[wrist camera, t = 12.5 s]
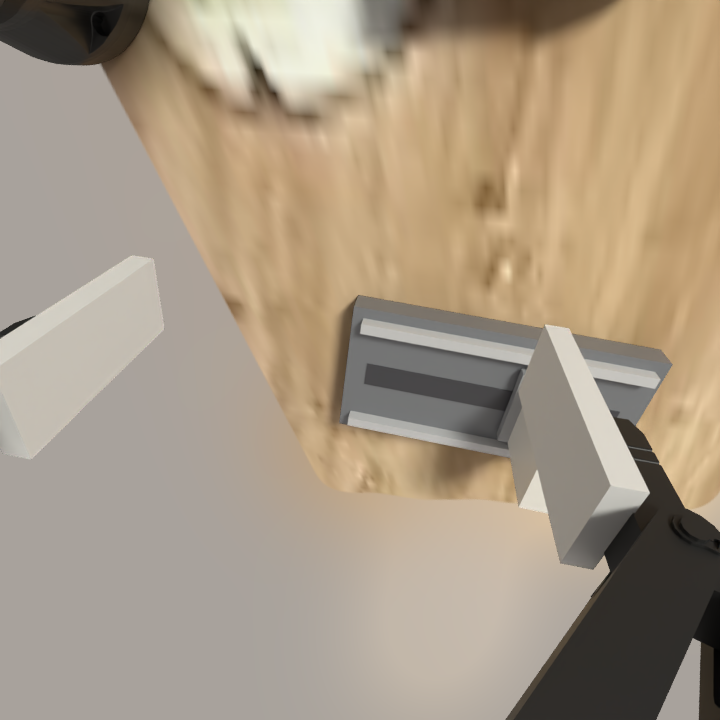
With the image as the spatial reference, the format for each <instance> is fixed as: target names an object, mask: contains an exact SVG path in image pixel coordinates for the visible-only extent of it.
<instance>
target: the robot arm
mask: <svg viewBox="0 0 720 720" xmlns="http://www.w3.org/2000/svg"><path fill="white" fill-rule="evenodd" d="M148 3H149V0H0V41H2V42H4V43H6V44H8V45H10V46H12V47H14V48H16V49H18V50H20V51H22V52H24V53H26V54H28V55H30V56H32V57H35V58H37V59H41V60H44V61H48V62H51V63H56V64H64V65H95V64H100V63H103V62H106V61H108V60H110V59H112V58H114V57H116V56H117V55H118V54H120V53H121V52H122V51H123V50H124V49H126V48H127V46H128V45H129V44H130V43H131V42H132V40H133V39H134V38H135V36H136V34H137V33H138V31H139V29H140V27H141V25H142V23H143V20H144V17H145V14H146V11H147V8H148ZM163 330H164V322H163V316H162V309H161V303H160V296H159V290H158V284H157V277H156V271H155V265H154V259H152V258H146V257H140V256H134V255H131V256H130V257H128V258H127V259H125V260H124V261H122V262H120V263H119V264H117V265H116V266H114V267H113V268H111V269H109V270H108V271H106V272H105V273H103V274H102V275H100V276H98V277H97V278H95V279H94V280H92V281H90V282H89V283H87V284H86V285H84V286H83V287H81V288H79V289H78V290H76V291H75V292H73V293H72V294H70V295H68V296H67V297H65V298H64V299H62V300H60V301H59V302H58V303H56V304H54V305H53V306H51V307H49V308H48V309H46V310H45V311H43V312H42V313H40V314H38V315H37V316H33V317H30V318H27V319H25V320H22V321H19V322H16V323H14V324H12V325H11V326H9V327H8V328H6V329H4V330H3V331H1V332H0V450H1V452H2V453H3V454H6V455H11V456H17V457H21V458H27V459H32V458H33V457H34V456H35V455H36V454H37V453H38V452H39V451H40V450H41V449H42V448H43V447H45V446H46V444H48V443H49V441H50V440H52V439H53V438H54V436H56V435H57V434H58V433H59V432H60V431H61V430H62V429H63V428H64V427H65V426H66V425H67V424H68V423H69V422H70V421H71V420H72V419H73V418H74V417H75V416H76V415H77V414H78V413H79V412H80V411H81V410H82V409H83V408H84V407H85V406H86V405H87V404H88V403H89V402H90V401H91V400H92V399H94V397H96V395H98V393H99V392H101V391H102V390H103V389H104V388H105V387H106V386H107V385H108V384H109V383H110V382H111V381H112V380H113V379H114V378H115V377H116V376H117V375H118V374H119V373H120V372H121V371H122V370H123V369H124V368H125V367H126V366H127V365H128V364H129V363H130V362H131V361H132V360H133V359H134V358H135V357H136V356H137V355H138V354H139V353H140V352H141V351H142V350H143V349H145V348H146V346H148V345H149V344H150V343H151V342H152V341H153V340H154V339H155V338H156V337H157V336H158V335H159V334H160V333H161V332H162V331H163ZM518 393H519V397H520V401H521V405H522V409H523V413H524V417H525V421H526V425H527V429H528V434H529V438H530V442H531V446H532V450H533V454H534V458H535V462H536V466H537V470H538V474H539V478H540V483H541V487H542V491H543V495H544V499H545V503H546V507H547V511H548V515H549V519H550V523H551V527H552V531H553V535H554V540H555V543H556V547H557V552H558V556H559V560H560V563H562V564H567V565H572V566H577V567H582V568H588V569H594V568H595V567H596V565H597V564H598V563H599V561H600V560H601V559H602V557H603V556H604V555H605V557H606V560H607V563H608V566H609V569H610V572H609V574H608V575H607V576H606V578H605V579H604V580H603V581H602V583H601V584H600V585H599V587H598V588H597V589H596V590H595V592H594V593H593V594H592V596H591V599H590V600H589V602H588V603H587V605H586V606H585V608H584V609H583V610H582V612H581V613H580V614H579V616H578V617H577V619H576V620H575V622H574V623H573V624H572V626H571V627H570V629H569V630H568V632H567V633H566V635H565V636H564V637H563V639H562V640H561V642H560V643H559V644H558V646H557V647H556V649H555V650H554V651H553V653H552V654H551V656H550V657H549V659H548V660H547V662H546V663H545V664H544V666H543V667H542V669H541V670H540V671H539V673H538V674H537V676H536V677H535V678H534V680H533V681H532V683H531V684H530V686H529V687H528V689H527V690H526V691H525V693H524V694H523V696H522V697H521V698H520V700H519V701H518V703H517V704H516V706H515V707H514V708H513V710H512V711H511V713H510V714H509V715H508V717H507V718H506V720H656V719H657V716H658V714H659V712H660V710H661V708H662V705H663V703H664V701H665V699H666V696H667V694H668V692H669V690H670V688H671V685H672V683H673V681H674V679H675V676H676V674H677V672H678V670H679V667H680V665H681V663H682V661H683V659H684V656H685V654H686V652H687V650H688V647H689V645H690V643H691V641H692V638H694V639H696V640H698V641H700V642H701V660H700V697H699V720H720V532H719V531H718V530H717V529H716V528H715V526H714V525H712V524H711V523H710V522H708V521H707V520H706V519H704V518H703V517H702V516H700V515H698V514H696V513H694V512H692V511H690V510H688V509H685V507H684V506H683V504H682V502H681V500H680V498H679V497H678V495H677V493H676V491H675V489H674V488H673V486H672V484H671V482H670V480H669V479H668V477H667V475H666V473H665V471H664V470H663V468H662V466H661V465H659V461H658V459H657V457H656V455H655V453H653V452H652V448H651V446H650V444H649V443H648V441H647V439H646V437H645V435H644V434H643V433H642V432H641V431H640V430H639V429H638V428H637V427H636V426H635V425H634V424H633V423H632V422H631V421H630V420H628V419H622V418H617V417H612V415H611V413H610V411H609V409H608V407H607V405H606V403H605V401H604V399H603V396H602V394H601V392H600V390H599V388H598V386H597V384H596V382H595V380H594V378H593V376H592V374H591V372H590V370H589V368H588V366H587V364H586V362H585V360H584V358H583V356H582V354H581V352H580V350H579V348H578V346H577V344H576V342H575V340H574V338H573V336H572V334H571V332H570V330H569V328H564V327H558V326H552V325H546V324H545V325H544V328H543V330H542V333H541V335H540V338H539V340H538V343H537V345H536V348H535V350H534V353H533V355H532V358H531V360H530V363H529V365H528V368H527V370H526V373H525V375H524V378H523V380H522V383H521V385H520V388H519V390H518Z"/></svg>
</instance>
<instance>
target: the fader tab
mask: <svg viewBox="0 0 720 720" xmlns="http://www.w3.org/2000/svg"><path fill="white" fill-rule="evenodd" d="M525 373H526V369H521V372H520V374H519V377H518V379H517V382H516V385H515V387H514V390H513V392H512V395H511V398H510V400H509V403H508V405H507V408H506V410H505V413H504V416H503V418H502V421H501V423H500V426H499V429H498V431H497V440H498V441H503V442H508V448H509V454H510V459H511V465H512V471H513V477H514V483H515V489H516V494H517V500H518V506H519V507H520V508H524V509H529V510H534V511H538V512H543V513H548V511H547V507H546V503H545V499H544V495H543V491H542V487H541V483H540V478H539V474H538V470H537V466H536V462H535V458H534V454H533V450H532V446H531V442H530V438H529V434H528V429H527V425H526V421H525V417H524V413H523V409H522V405H521V401H520V397H519V393H518V390H519V388H520V385H521V383H522V380H523V378H524V375H525Z"/></svg>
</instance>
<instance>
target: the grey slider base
mask: <svg viewBox="0 0 720 720" xmlns="http://www.w3.org/2000/svg"><path fill="white" fill-rule="evenodd" d="M542 330H543V328H537V327H532V326H526V325H521V324H515V323H510V322H504V321H499V320H493V319H488V318H482V317H476V316H471V315H465V314H460V313H454V312H449V311H443V310H438V309H432V308H427V307H421V306H416V305H410V304H405V303H399V302H394V301H388V300H382V299H377V298H371V297H366V296H360V295H358V298H357V300H356V303H355V305H354V310H353V318H352V326H351V334H350V342H349V350H348V358H347V366H346V374H345V382H344V390H343V398H342V406H341V414H340V422H339V423H342V424H347V425H349V426H354V427H359V428H364V429H369V430H374V431H379V432H384V433H389V434H394V435H399V436H404V437H409V438H414V439H419V440H424V441H429V442H434V443H438V444H443V445H448V446H453V447H458V448H463V449H468V450H473V451H478V452H483V453H488V454H493V455H498V456H503V457H508V458H510V454H509V448H508V442H503V441H498V440H497V431H498V429H499V426H500V423H501V421H502V418H503V416H504V413H505V410H506V408H507V405H508V403H509V400H510V398H511V395H512V392H513V390H514V387H515V385H516V382H517V379H518V377H519V374H520V372H521V369H526V370H527V368H528V365H529V363H530V360H531V358H532V355H533V353H534V350H535V348H536V345H537V343H538V340H539V338H540V335H541V333H542ZM572 336H573V338H574V340H575V342H576V344H577V346H578V348H579V350H580V352H581V354H582V356H583V358H584V360H585V362H586V364H587V366H588V368H589V370H590V372H591V374H592V376H593V378H594V380H595V382H596V384H597V386H598V388H599V390H600V392H601V394H602V396H603V399H604V401H605V403H606V405H607V407H608V409H609V411H610V413H611V415H612V417H617V418H622V419H628V420H630V421H631V422H632V423H633V424H634V425H635V426H636V424H637V422H638V421H639V419H640V417H641V416H642V414H643V412H644V411H645V409H646V408H647V406H648V404H649V403H650V401H651V399H652V398H653V396H654V394H655V393H656V391H657V389H658V388H659V386H660V384H661V383H662V381H663V380H664V378H665V376H666V375H667V373H668V371H669V370H670V368H671V366H672V365H673V364H672V363H671V362H670V361H669V359H668V358H667V357H666V356H665V354H664V353H663V352H662V351H661V350H659V349H653V348H648V347H642V346H637V345H631V344H626V343H620V342H615V341H609V340H604V339H598V338H593V337H587V336H582V335H576V334H572Z"/></svg>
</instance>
